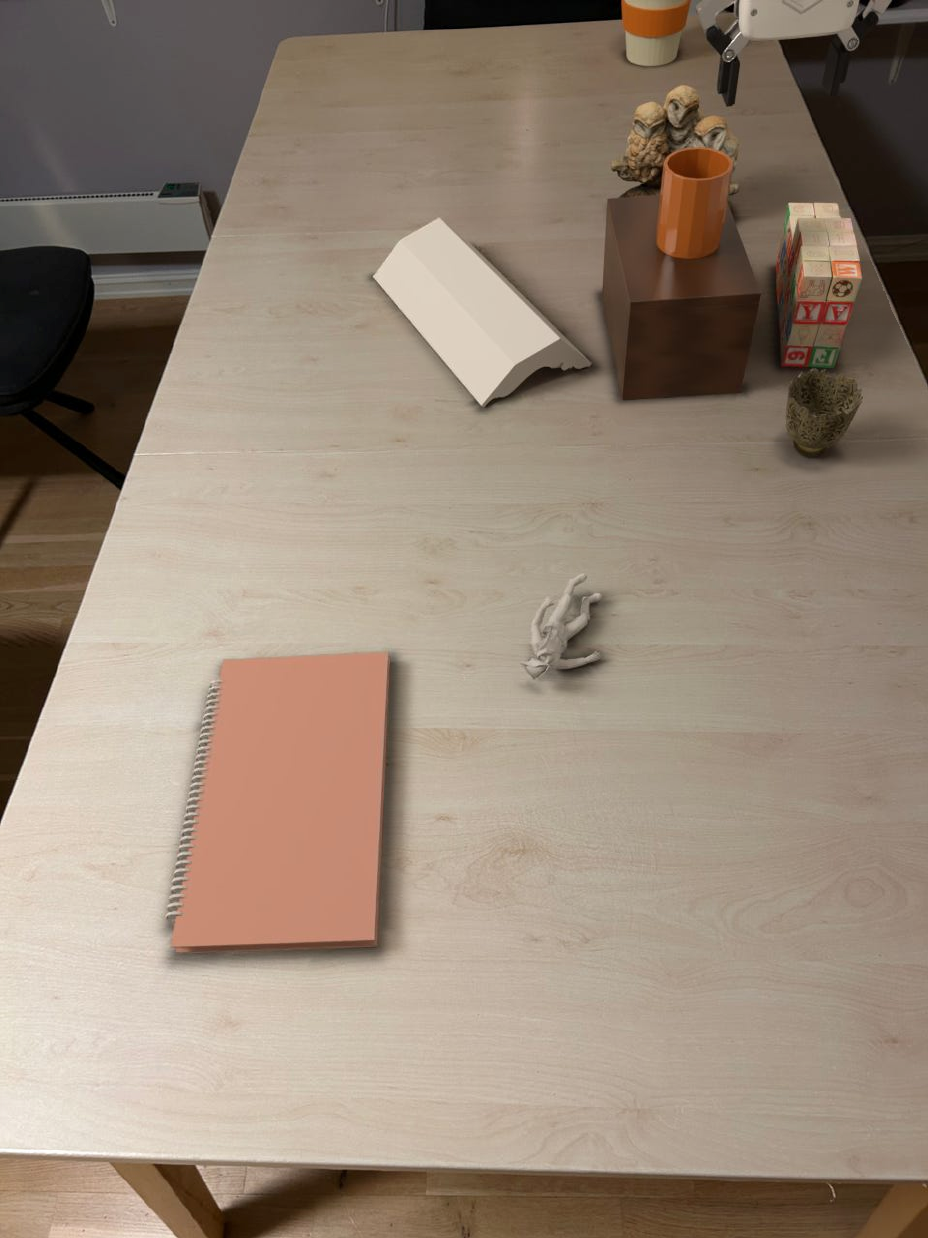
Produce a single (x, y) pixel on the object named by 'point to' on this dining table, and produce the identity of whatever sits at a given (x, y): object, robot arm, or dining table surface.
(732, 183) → the owl figurine
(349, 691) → the notebook
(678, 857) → the dining table surface
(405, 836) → the dining table surface
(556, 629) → the grey humanoid figurine
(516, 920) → the dining table surface
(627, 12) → the reusable coffee cup
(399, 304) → the molding piece
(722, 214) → the cup
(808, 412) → the cup
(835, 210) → the stack of blocks
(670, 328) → the dark brown wooden block
